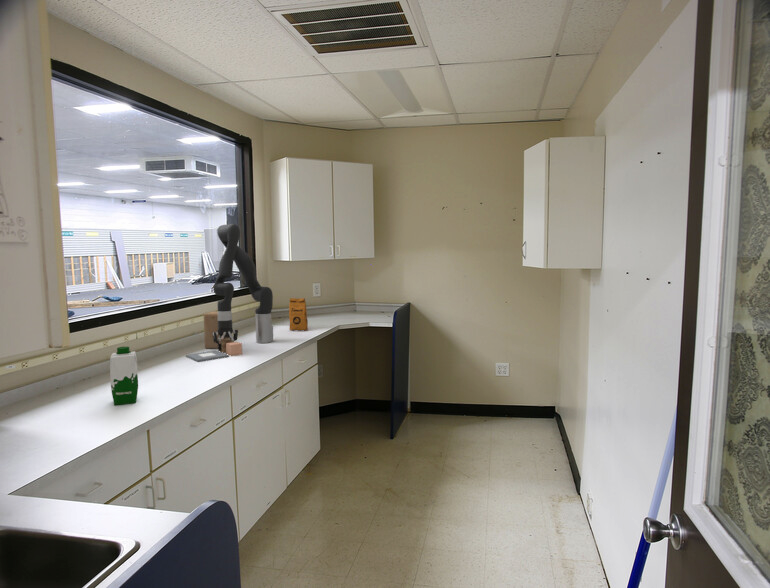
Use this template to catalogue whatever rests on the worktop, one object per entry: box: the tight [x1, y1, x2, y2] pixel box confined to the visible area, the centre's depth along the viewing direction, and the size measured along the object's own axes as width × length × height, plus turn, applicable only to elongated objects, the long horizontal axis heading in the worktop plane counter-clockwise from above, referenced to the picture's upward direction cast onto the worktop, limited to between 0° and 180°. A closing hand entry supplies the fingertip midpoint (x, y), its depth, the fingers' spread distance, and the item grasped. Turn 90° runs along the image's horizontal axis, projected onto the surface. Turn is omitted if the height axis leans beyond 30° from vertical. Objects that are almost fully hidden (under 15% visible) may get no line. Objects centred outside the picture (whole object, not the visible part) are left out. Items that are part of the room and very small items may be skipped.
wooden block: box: [203, 310, 229, 350], centre depth 276 cm, size 10×10×20 cm
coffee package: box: [288, 297, 309, 332], centre depth 330 cm, size 10×12×22 cm
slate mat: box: [185, 349, 230, 363], centre depth 253 cm, size 16×16×1 cm
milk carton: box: [109, 346, 139, 406], centre depth 180 cm, size 9×9×20 cm
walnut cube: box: [217, 339, 233, 354], centre depth 266 cm, size 6×6×6 cm
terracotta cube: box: [225, 341, 243, 357], centre depth 259 cm, size 6×6×6 cm
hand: (225, 349), depth 266 cm, fingers closed on walnut cube, 6 cm apart
